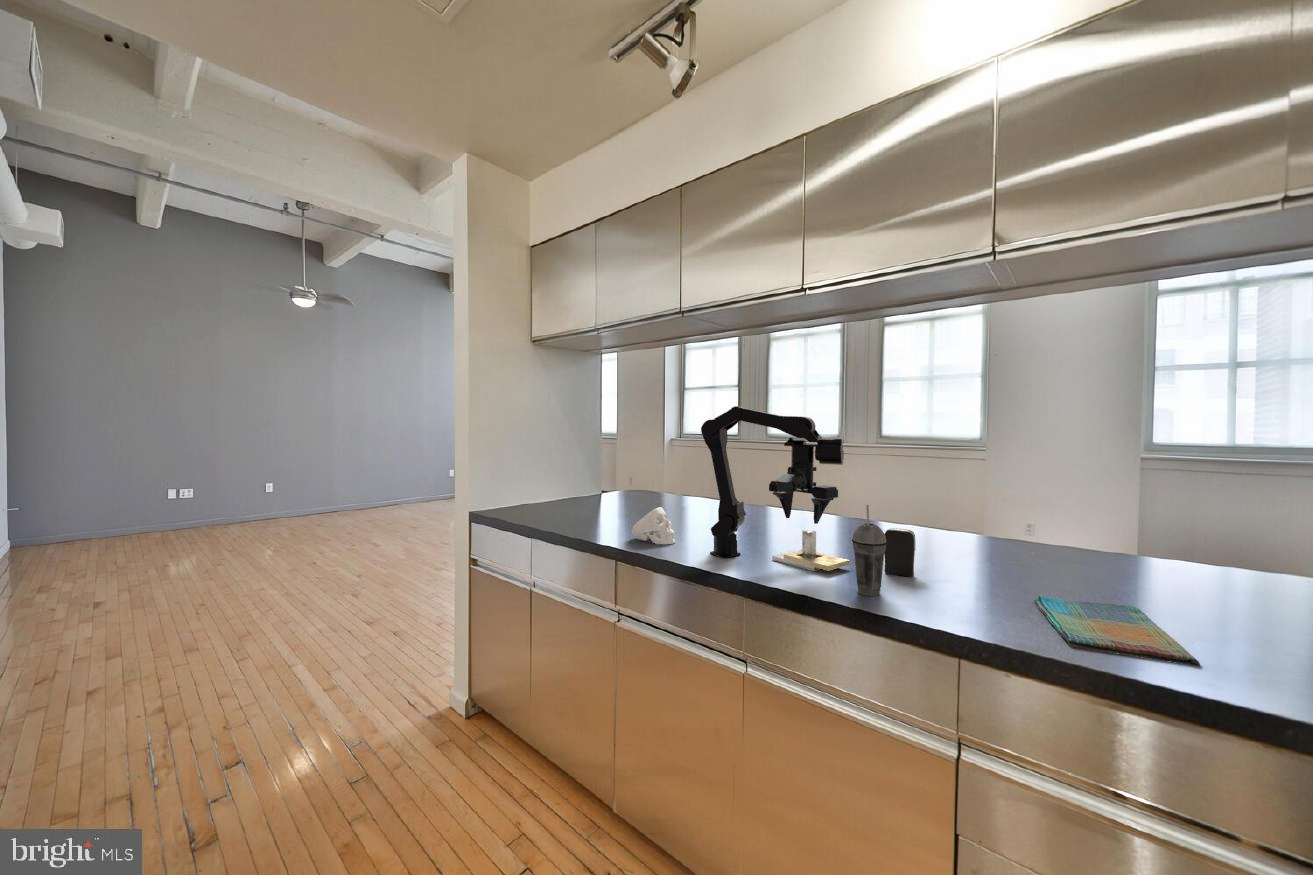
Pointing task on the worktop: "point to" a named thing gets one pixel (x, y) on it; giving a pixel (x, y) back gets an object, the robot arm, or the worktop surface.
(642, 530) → the skull bowl
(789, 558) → the cream inset tray
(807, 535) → the pin
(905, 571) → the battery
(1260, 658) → the worktop surface
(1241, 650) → the worktop surface
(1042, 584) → the worktop surface
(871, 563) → the beverage cup
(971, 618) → the worktop surface
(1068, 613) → the dish towel
